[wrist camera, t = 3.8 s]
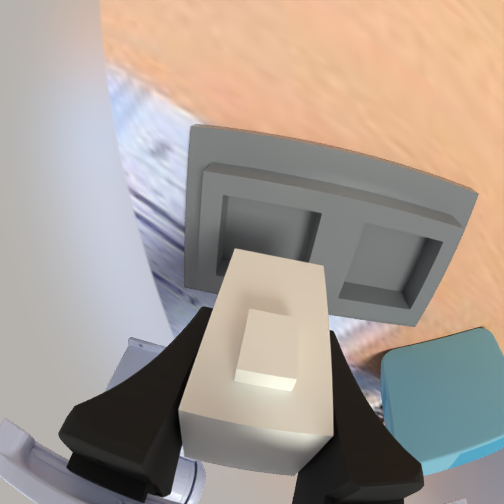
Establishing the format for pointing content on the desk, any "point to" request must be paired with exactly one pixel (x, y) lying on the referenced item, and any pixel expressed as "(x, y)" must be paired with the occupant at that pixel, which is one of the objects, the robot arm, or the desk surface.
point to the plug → (262, 369)
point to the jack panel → (322, 219)
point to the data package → (445, 398)
